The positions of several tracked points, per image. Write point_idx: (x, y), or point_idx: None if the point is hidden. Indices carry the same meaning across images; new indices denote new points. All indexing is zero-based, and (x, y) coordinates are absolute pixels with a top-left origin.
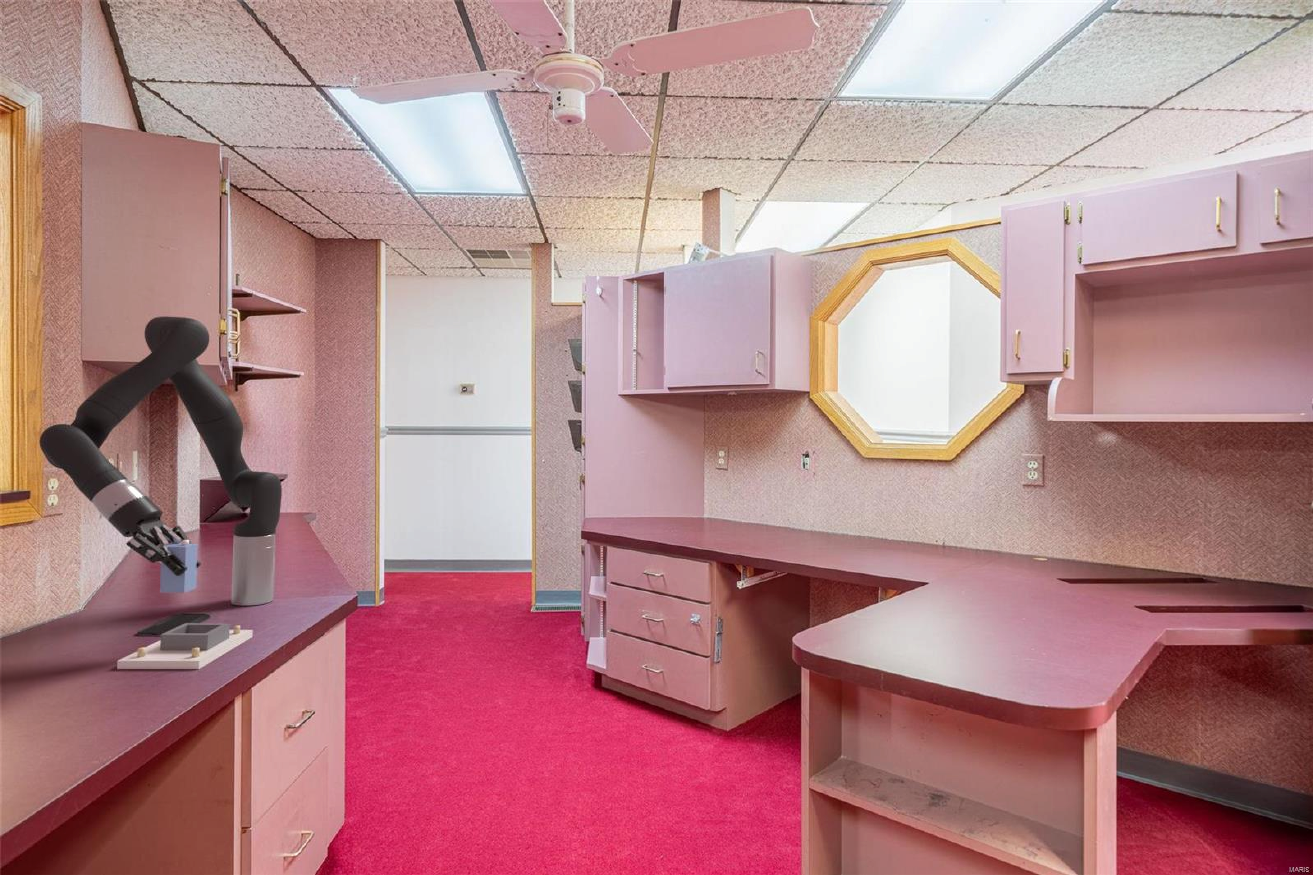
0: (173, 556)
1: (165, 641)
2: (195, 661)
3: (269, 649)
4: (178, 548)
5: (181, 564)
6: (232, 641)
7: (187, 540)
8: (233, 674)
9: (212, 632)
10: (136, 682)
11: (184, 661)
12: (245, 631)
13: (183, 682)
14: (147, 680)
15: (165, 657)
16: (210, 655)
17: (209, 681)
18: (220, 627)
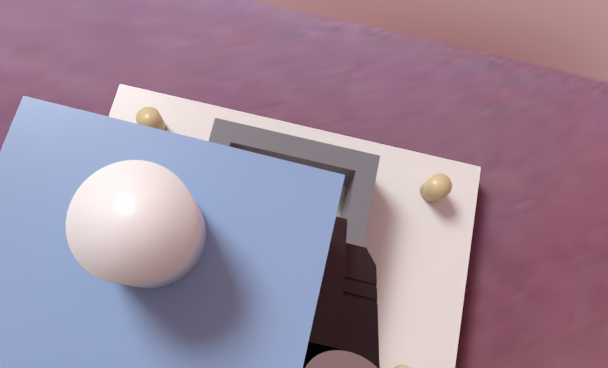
0: (337, 336)
1: None
2: (477, 178)
3: (297, 20)
4: (318, 286)
5: (345, 246)
6: (267, 118)
7: (160, 178)
8: (527, 71)
9: (345, 148)
10: (573, 316)
11: (473, 212)
12: (137, 103)
13: (583, 183)
14: (557, 290)
15: (428, 286)
16: (411, 152)
17: (580, 118)
18: (272, 137)
